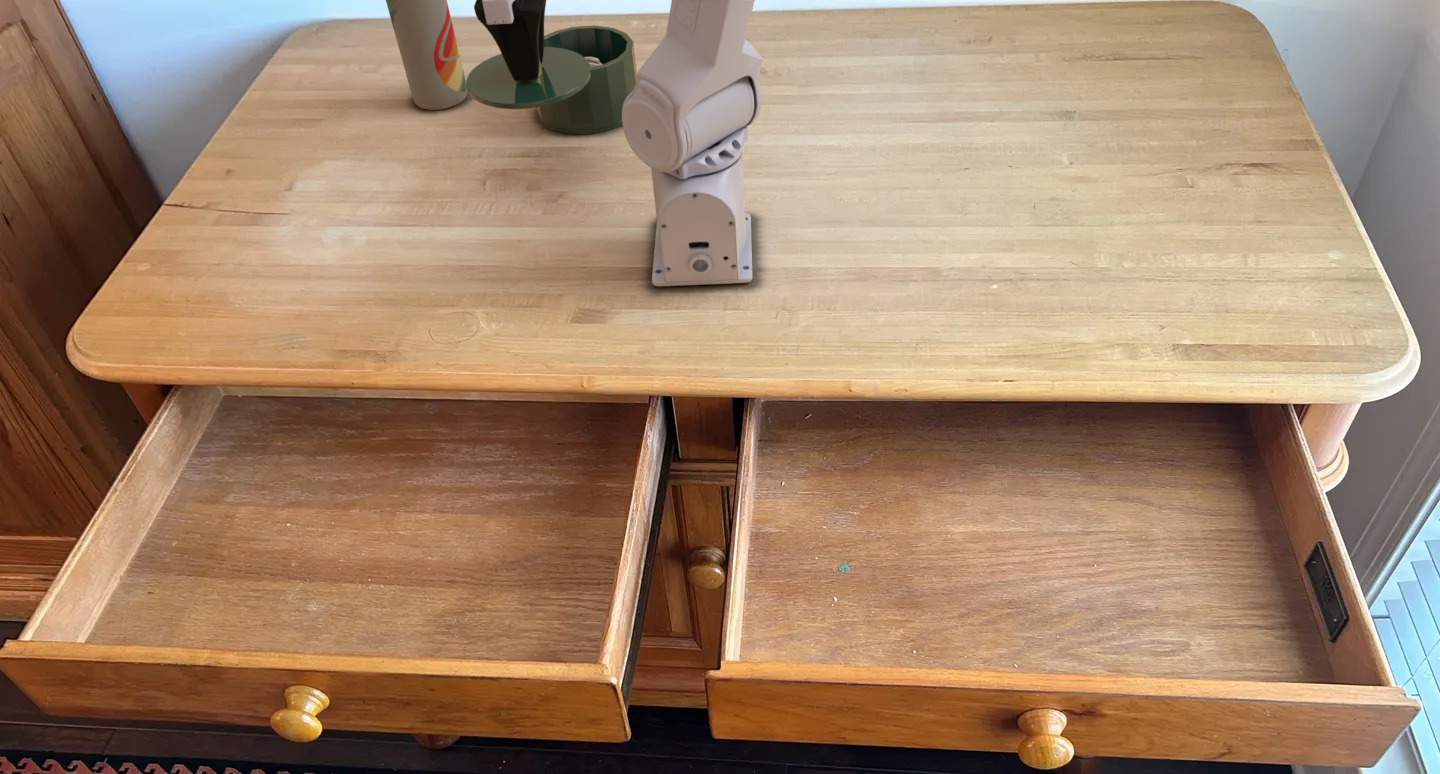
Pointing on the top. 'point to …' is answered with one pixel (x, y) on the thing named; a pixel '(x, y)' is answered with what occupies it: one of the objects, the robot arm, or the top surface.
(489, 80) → the lid
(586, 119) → the pot
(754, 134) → the top surface
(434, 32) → the spray bottle
